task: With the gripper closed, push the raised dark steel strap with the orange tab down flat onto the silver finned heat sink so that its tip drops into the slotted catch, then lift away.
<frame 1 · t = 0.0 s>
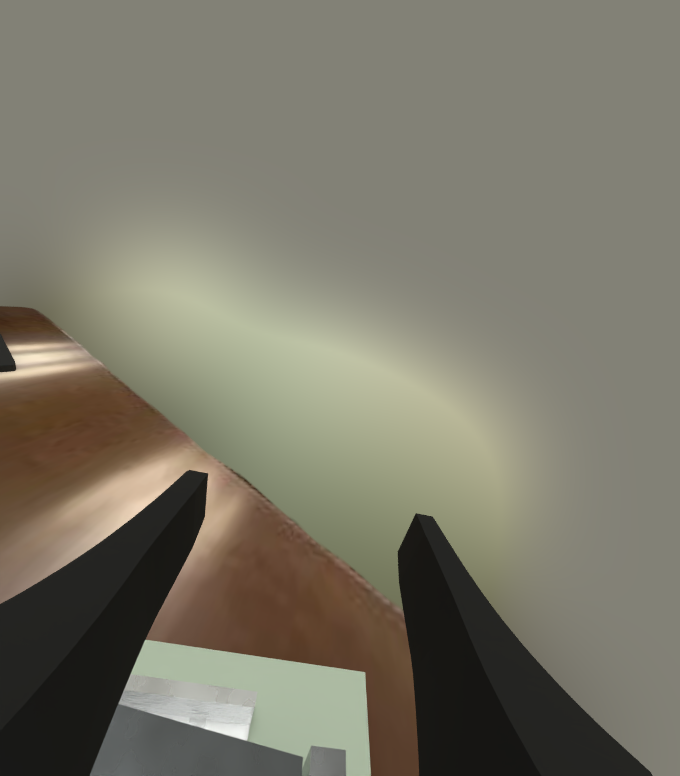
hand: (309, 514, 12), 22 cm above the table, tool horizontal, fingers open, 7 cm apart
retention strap: (139, 758, 16), point 7 cm above the table, hinge at 16.0°
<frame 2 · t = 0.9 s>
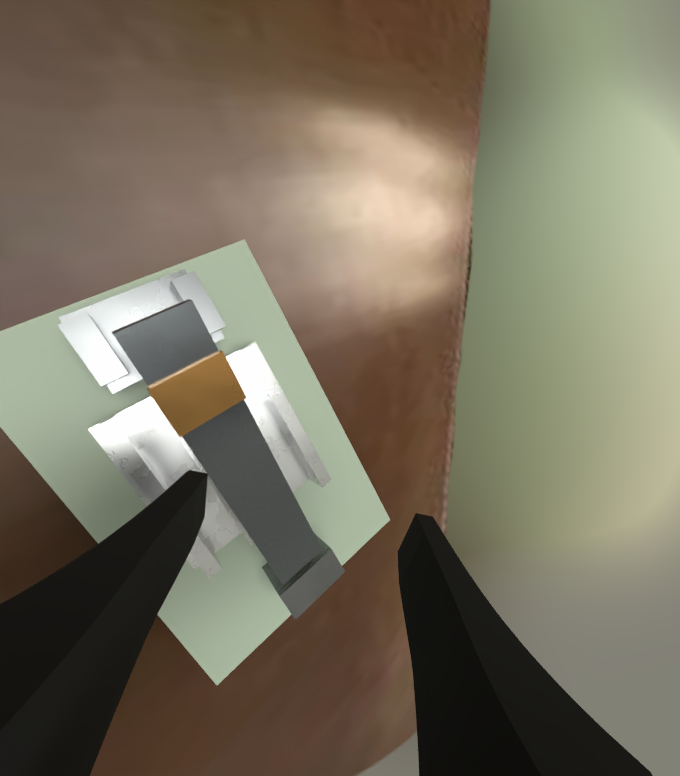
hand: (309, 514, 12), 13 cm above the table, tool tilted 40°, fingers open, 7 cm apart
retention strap: (245, 470, 17), point 7 cm above the table, hinge at 16.0°
heat sink: (227, 452, 21), on the pale green board, point 2 cm above the table
pale green board: (227, 458, 23), on the table
hinge and catch: (231, 458, 20), on the pale green board, point 3 cm above the table
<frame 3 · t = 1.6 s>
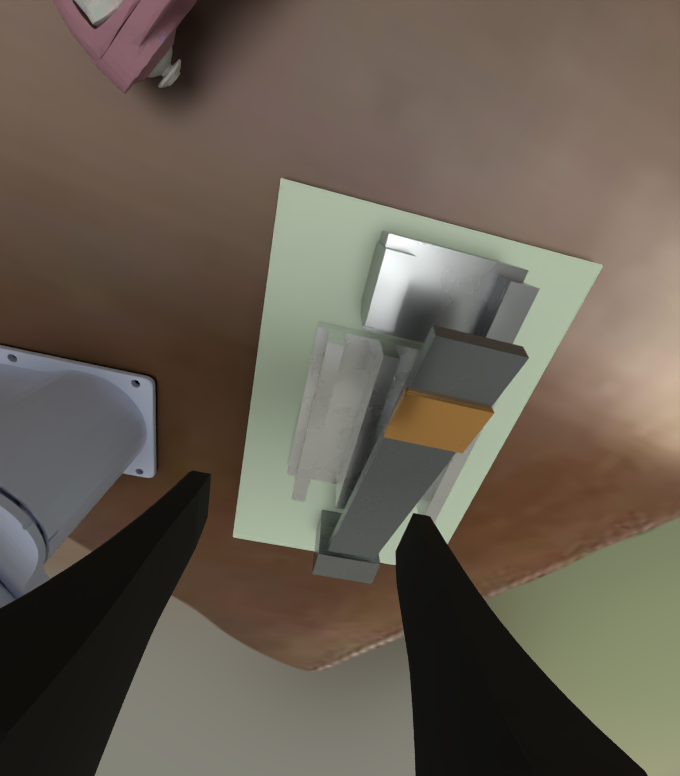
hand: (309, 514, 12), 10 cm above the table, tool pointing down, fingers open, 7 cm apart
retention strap: (393, 483, 16), point 7 cm above the table, hinge at 16.0°
heat sink: (385, 431, 20), on the pale green board, point 2 cm above the table
pale green board: (376, 421, 22), on the table
hinge and catch: (384, 440, 19), on the pale green board, point 3 cm above the table
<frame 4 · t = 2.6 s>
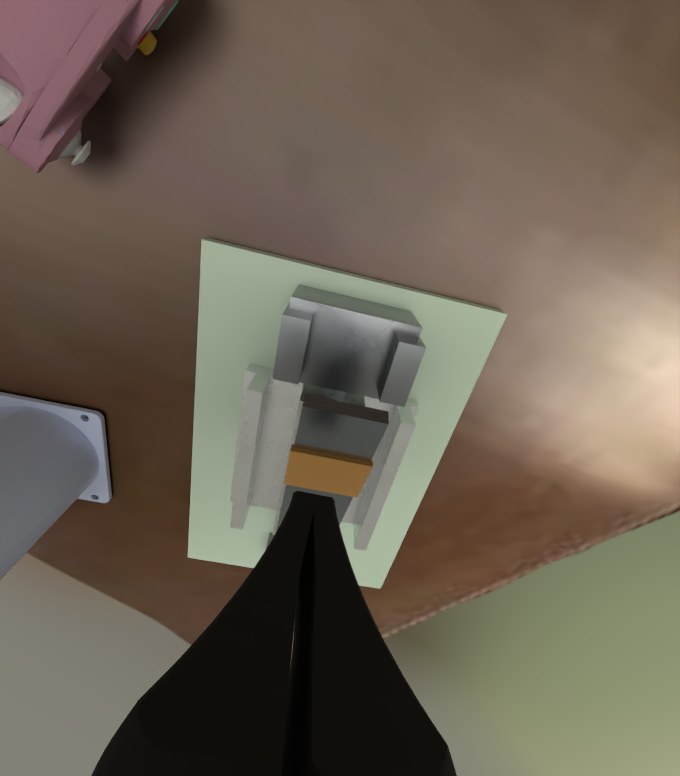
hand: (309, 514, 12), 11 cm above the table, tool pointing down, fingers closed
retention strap: (309, 519, 17), point 7 cm above the table, hinge at 16.0°
heat sink: (316, 463, 21), on the pale green board, point 2 cm above the table
pale green board: (316, 451, 24), on the table
hinge and catch: (314, 473, 20), on the pale green board, point 3 cm above the table
pink plastic car shape: (113, 53, 15), on the table
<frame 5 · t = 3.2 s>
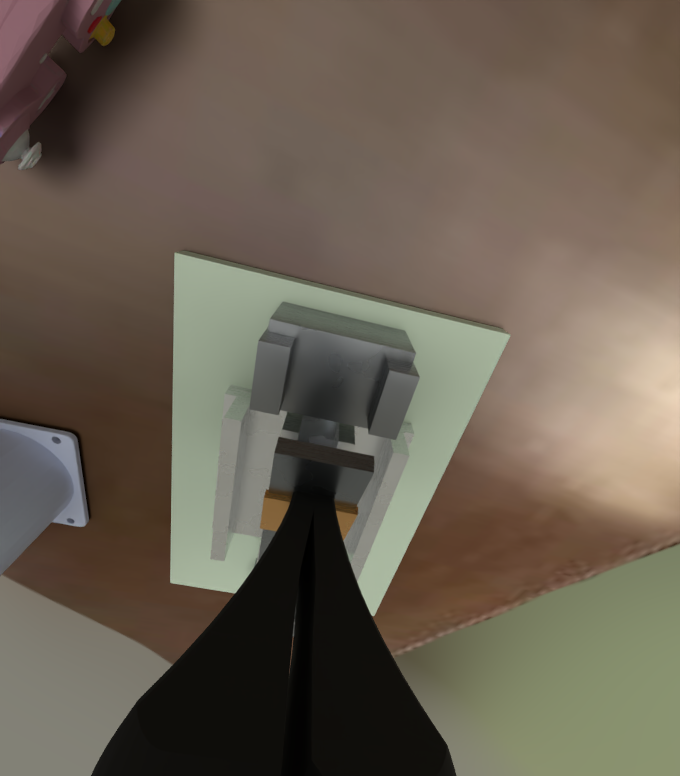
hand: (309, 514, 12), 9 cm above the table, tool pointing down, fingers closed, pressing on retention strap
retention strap: (292, 559, 16), point 7 cm above the table, hinge at 15.9°, touching gripper
heat sink: (303, 492, 19), on the pale green board, point 2 cm above the table
pale green board: (304, 475, 22), on the table
hinge and catch: (300, 503, 19), on the pale green board, point 3 cm above the table
pink plastic car shape: (70, 44, 13), on the table
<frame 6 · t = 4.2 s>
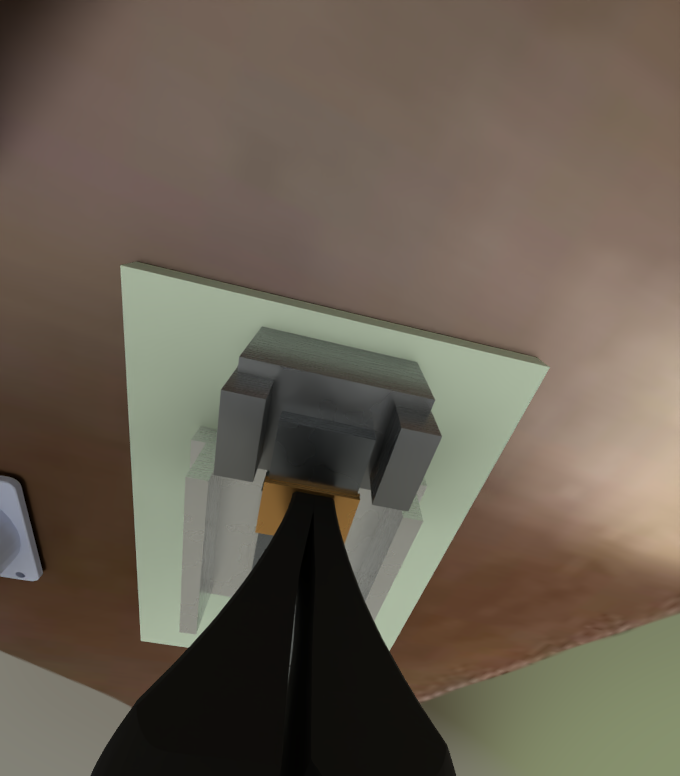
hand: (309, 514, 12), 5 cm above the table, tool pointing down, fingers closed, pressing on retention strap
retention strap: (285, 589, 14), point 4 cm above the table, hinge at -0.1°, touching gripper, heat sink, hinge and catch
heat sink: (291, 552, 16), on the pale green board, point 2 cm above the table
pale green board: (294, 524, 19), on the table
hinge and catch: (288, 567, 16), on the pale green board, point 3 cm above the table
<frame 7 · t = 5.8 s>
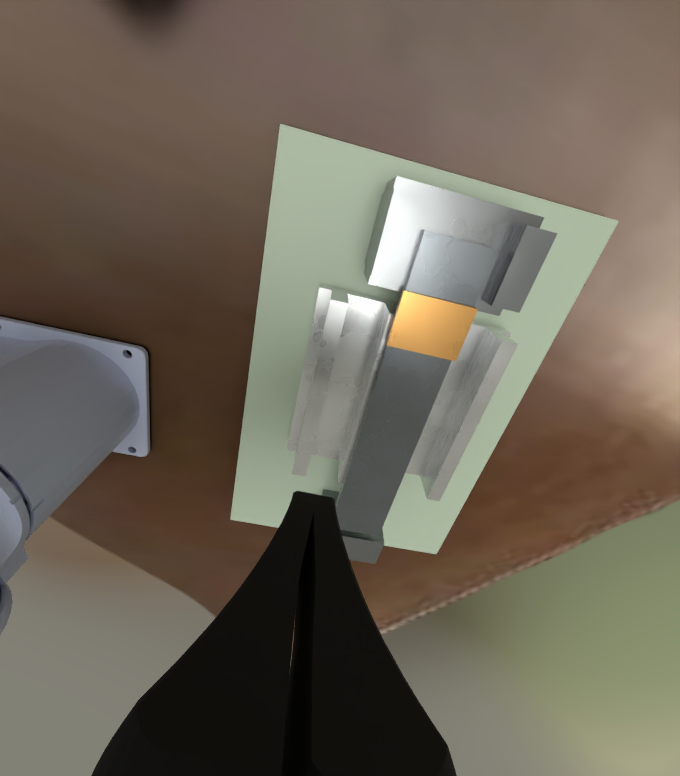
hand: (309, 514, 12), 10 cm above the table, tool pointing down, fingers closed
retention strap: (395, 415, 17), point 4 cm above the table, hinge at 0.0°, touching heat sink, hinge and catch
heat sink: (389, 401, 19), on the pale green board, point 2 cm above the table
pale green board: (380, 395, 21), on the table
hinge and catch: (389, 410, 18), on the pale green board, point 3 cm above the table
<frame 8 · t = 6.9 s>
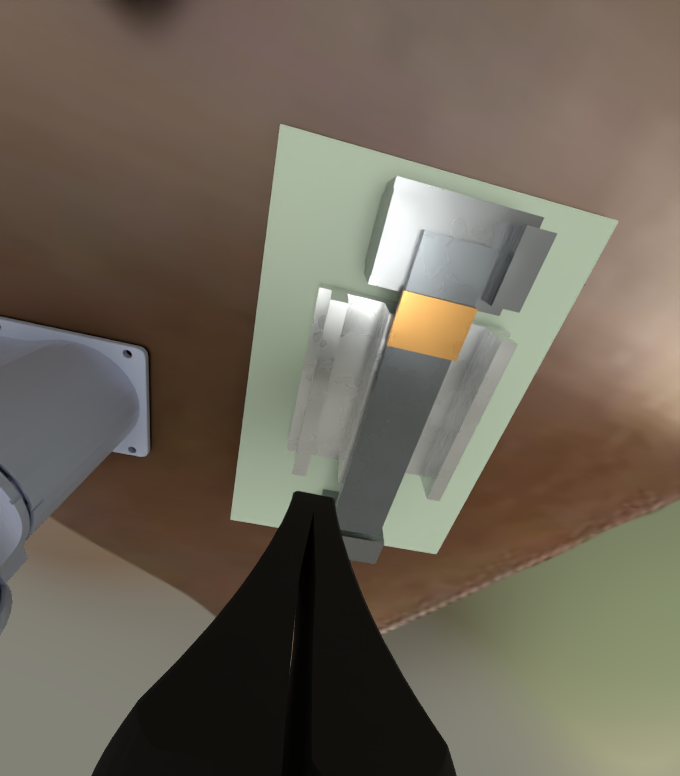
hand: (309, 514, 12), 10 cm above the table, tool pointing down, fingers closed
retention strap: (395, 415, 17), point 4 cm above the table, hinge at 0.0°, touching heat sink, hinge and catch
heat sink: (389, 401, 19), on the pale green board, point 2 cm above the table
pale green board: (380, 395, 21), on the table
hinge and catch: (389, 410, 18), on the pale green board, point 3 cm above the table
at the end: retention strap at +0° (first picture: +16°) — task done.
